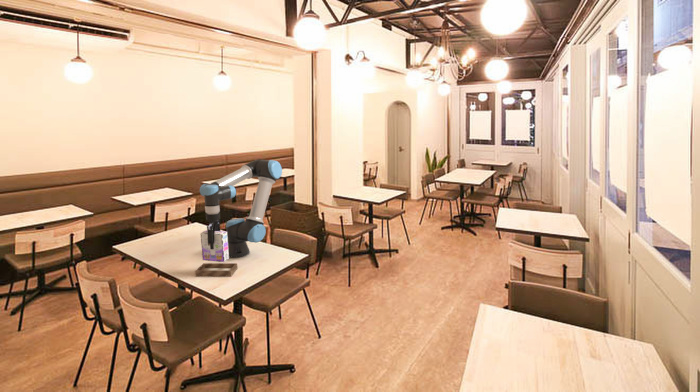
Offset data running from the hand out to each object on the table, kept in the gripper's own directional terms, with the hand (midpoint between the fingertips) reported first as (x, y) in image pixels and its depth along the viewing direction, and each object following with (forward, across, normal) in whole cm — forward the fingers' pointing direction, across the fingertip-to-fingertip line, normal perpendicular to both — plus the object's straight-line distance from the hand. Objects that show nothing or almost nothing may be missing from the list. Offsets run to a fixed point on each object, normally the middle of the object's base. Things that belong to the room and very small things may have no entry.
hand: (215, 252), depth 224 cm
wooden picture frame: (+12, 0, 0) cm, 12 cm away
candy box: (+5, 0, 0) cm, 5 cm away
